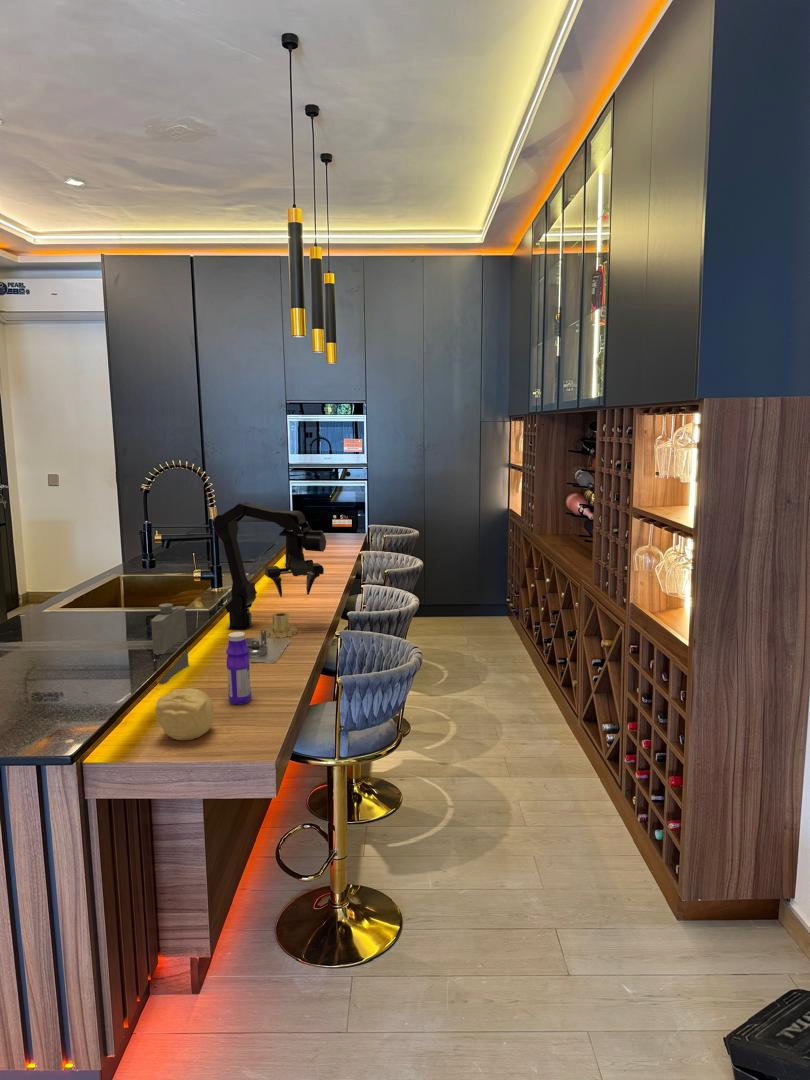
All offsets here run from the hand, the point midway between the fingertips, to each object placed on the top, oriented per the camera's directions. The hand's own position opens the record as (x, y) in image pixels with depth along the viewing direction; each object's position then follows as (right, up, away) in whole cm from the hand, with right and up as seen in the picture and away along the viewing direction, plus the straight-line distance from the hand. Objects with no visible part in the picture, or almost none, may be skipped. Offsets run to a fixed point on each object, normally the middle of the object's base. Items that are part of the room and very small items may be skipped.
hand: (294, 595), depth 235 cm
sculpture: (-12, -25, -76) cm, 81 cm away
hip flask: (-29, -19, -37) cm, 51 cm away
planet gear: (-4, -13, 0) cm, 13 cm away
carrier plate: (-7, -16, -19) cm, 26 cm away
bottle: (-5, -22, -57) cm, 61 cm away
